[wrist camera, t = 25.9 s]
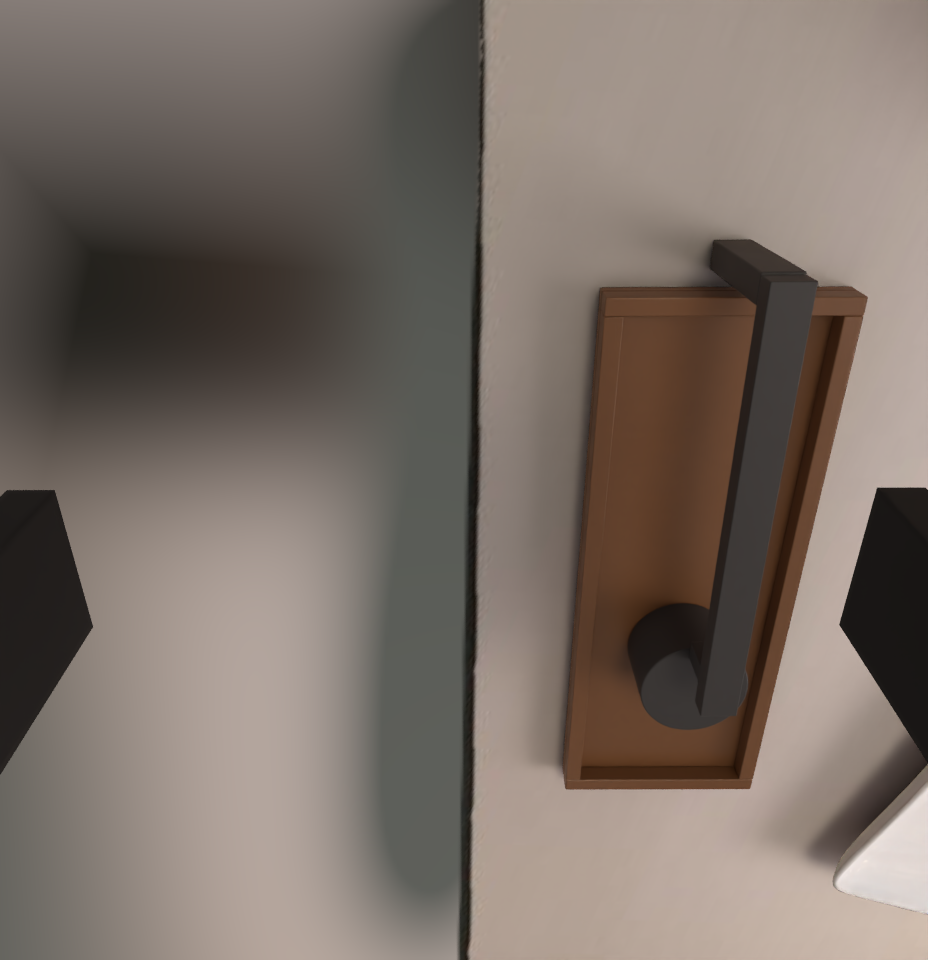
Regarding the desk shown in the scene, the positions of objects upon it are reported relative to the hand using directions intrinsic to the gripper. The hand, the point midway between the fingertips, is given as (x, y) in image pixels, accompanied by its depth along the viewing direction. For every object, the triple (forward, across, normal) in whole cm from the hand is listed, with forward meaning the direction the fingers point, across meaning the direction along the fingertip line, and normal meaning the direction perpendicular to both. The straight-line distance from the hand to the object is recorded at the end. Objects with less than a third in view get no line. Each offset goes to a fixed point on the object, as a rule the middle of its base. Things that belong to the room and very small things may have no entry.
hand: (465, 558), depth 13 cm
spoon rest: (+23, +11, -16) cm, 30 cm away
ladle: (+22, +11, -11) cm, 27 cm away
